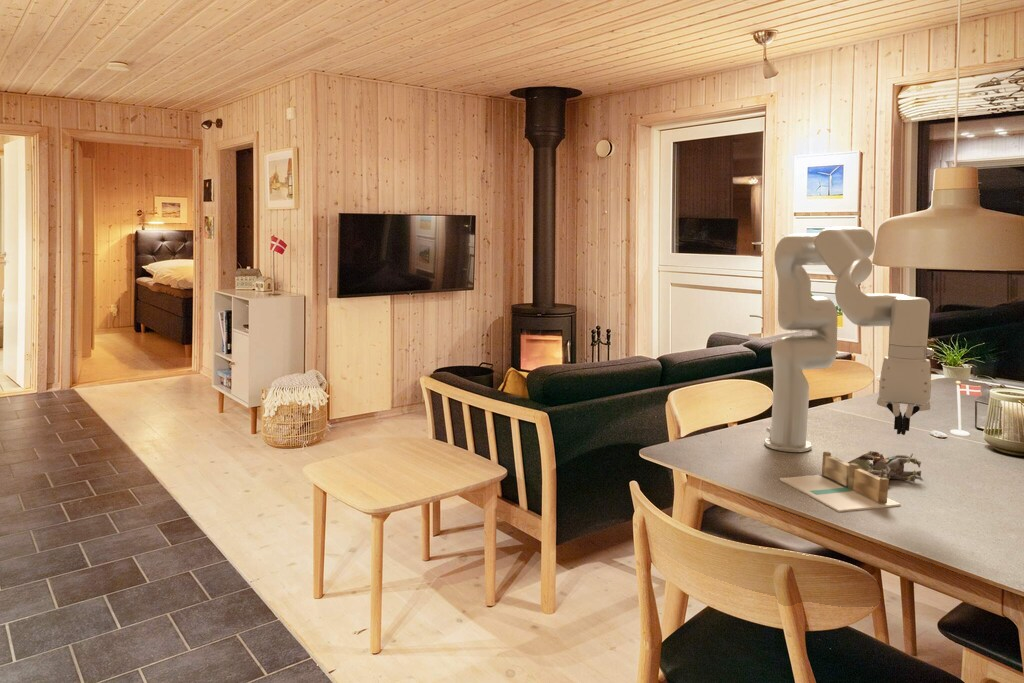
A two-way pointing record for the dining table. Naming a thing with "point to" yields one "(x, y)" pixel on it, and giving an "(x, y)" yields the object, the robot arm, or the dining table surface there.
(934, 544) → the dining table surface
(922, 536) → the dining table surface
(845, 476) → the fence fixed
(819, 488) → the card
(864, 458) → the figurine
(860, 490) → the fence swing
